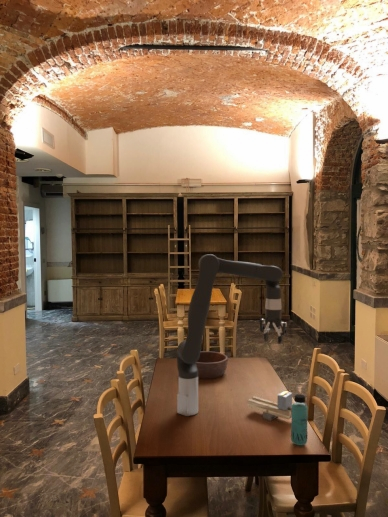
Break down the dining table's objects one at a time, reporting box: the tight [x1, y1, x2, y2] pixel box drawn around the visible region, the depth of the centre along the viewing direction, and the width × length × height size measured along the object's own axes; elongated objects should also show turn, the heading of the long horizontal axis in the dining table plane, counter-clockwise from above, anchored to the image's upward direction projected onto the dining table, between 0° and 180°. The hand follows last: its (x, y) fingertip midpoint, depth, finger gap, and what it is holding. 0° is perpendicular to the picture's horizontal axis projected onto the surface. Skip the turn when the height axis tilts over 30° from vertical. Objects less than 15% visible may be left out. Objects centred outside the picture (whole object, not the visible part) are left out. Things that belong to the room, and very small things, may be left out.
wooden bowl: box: [196, 350, 229, 380], centre depth 250 cm, size 25×25×10 cm
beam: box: [246, 395, 292, 422], centre depth 190 cm, size 7×21×6 cm, turn 51°
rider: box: [277, 390, 293, 411], centre depth 186 cm, size 6×4×8 cm, turn 141°
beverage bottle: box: [290, 393, 309, 446], centre depth 165 cm, size 6×7×20 cm
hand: (273, 342), depth 201 cm, fingers open, 6 cm apart
